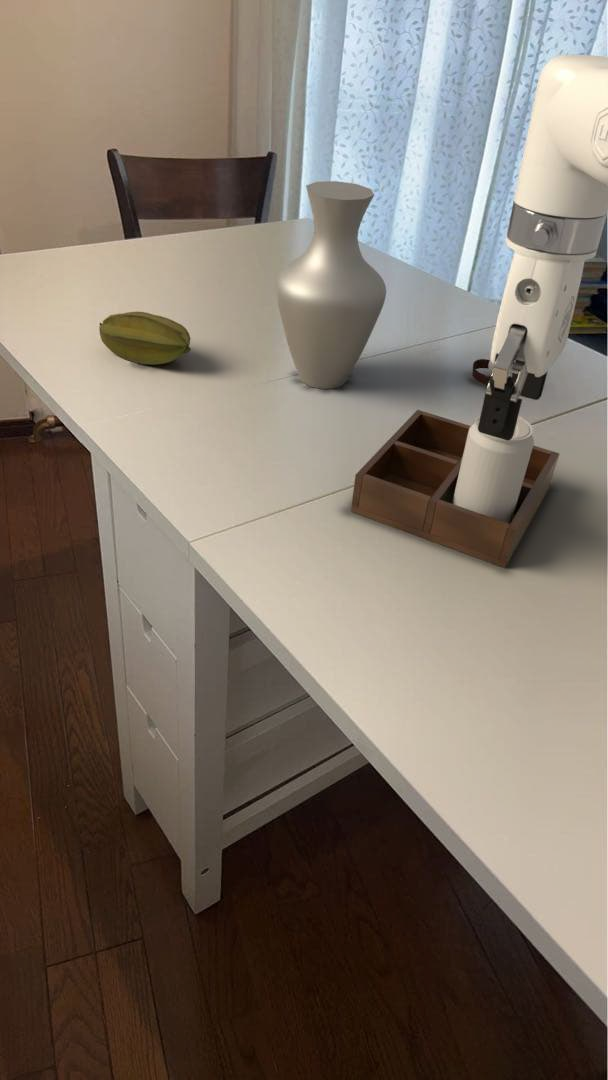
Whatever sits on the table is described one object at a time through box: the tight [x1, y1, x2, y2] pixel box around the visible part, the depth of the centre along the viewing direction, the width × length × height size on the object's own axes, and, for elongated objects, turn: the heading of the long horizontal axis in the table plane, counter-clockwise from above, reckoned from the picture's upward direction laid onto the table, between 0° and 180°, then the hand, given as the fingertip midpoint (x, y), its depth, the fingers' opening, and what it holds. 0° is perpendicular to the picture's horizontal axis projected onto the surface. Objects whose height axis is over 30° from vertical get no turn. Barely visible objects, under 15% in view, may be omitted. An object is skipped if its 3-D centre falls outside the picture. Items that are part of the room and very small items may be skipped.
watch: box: [471, 358, 512, 387], centre depth 113 cm, size 8×5×4 cm, turn 70°
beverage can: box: [452, 413, 535, 524], centre depth 81 cm, size 6×6×12 cm
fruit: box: [98, 311, 192, 366], centre depth 110 cm, size 11×12×7 cm
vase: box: [274, 180, 387, 390], centre depth 104 cm, size 14×14×25 cm
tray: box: [350, 409, 560, 569], centre depth 88 cm, size 17×17×5 cm
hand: (510, 414), depth 76 cm, fingers open, 9 cm apart
